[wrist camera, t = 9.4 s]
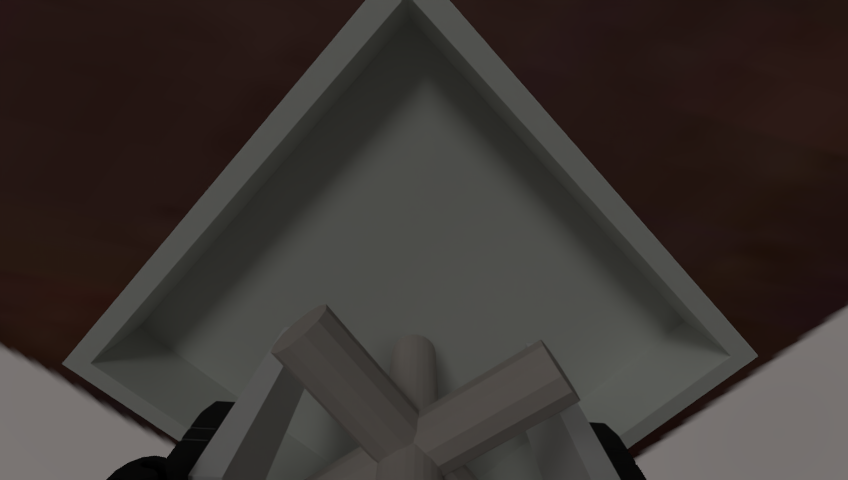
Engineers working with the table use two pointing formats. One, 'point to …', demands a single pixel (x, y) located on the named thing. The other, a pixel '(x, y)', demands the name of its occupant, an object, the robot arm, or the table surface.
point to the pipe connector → (416, 401)
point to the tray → (412, 251)
